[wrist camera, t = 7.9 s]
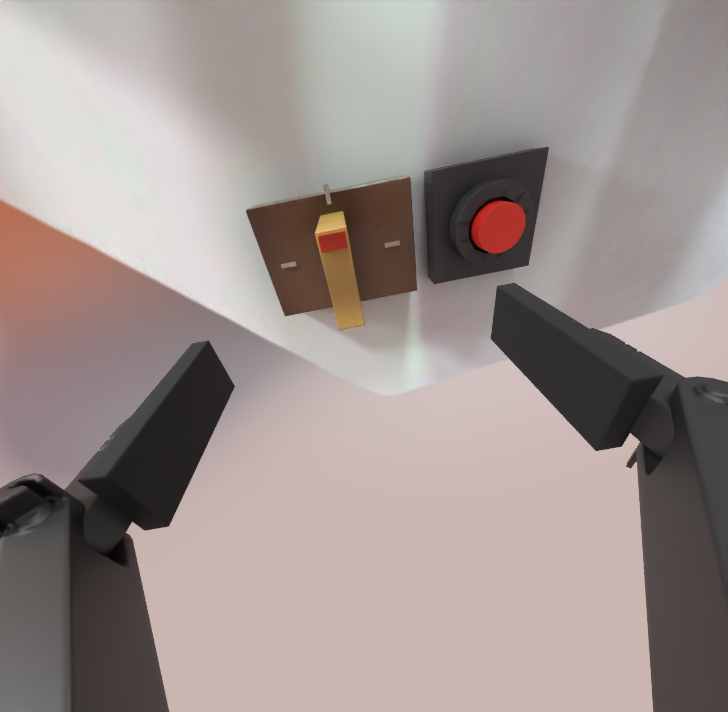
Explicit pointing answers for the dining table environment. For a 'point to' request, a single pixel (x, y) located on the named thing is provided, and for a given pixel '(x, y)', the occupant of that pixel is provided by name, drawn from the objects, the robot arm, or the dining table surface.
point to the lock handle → (339, 269)
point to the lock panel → (366, 237)
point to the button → (498, 226)
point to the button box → (466, 197)
